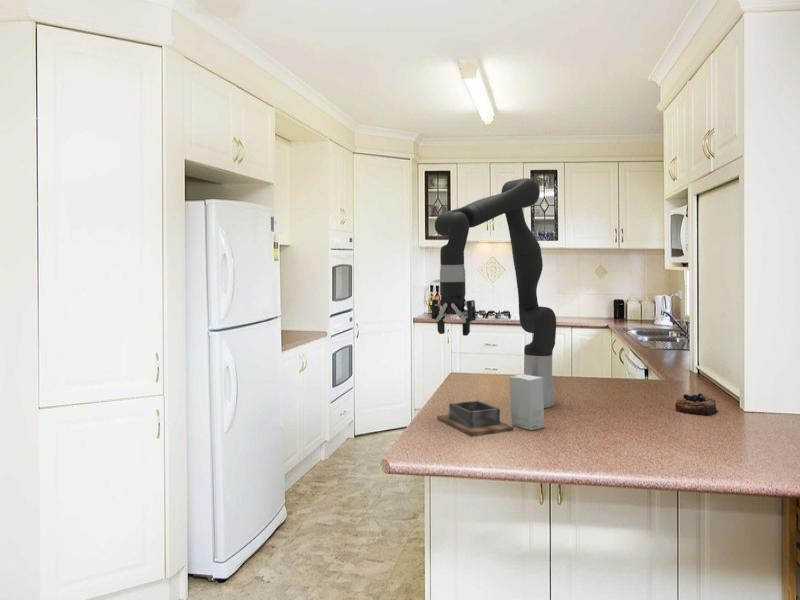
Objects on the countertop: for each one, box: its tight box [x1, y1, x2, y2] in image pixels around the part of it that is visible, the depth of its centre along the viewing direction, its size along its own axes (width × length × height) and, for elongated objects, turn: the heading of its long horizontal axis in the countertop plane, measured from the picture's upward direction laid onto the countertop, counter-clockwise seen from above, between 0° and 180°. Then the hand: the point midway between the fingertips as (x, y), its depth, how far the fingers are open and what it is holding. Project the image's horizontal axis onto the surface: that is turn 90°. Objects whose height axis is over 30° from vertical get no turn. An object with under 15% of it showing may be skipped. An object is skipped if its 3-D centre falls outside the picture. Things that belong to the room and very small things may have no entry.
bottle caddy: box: [436, 400, 514, 437], centre depth 177 cm, size 14×20×6 cm
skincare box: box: [509, 373, 545, 431], centre depth 175 cm, size 8×6×15 cm
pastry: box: [674, 392, 718, 417], centre depth 194 cm, size 11×12×6 cm
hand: (453, 334), depth 179 cm, fingers open, 8 cm apart
